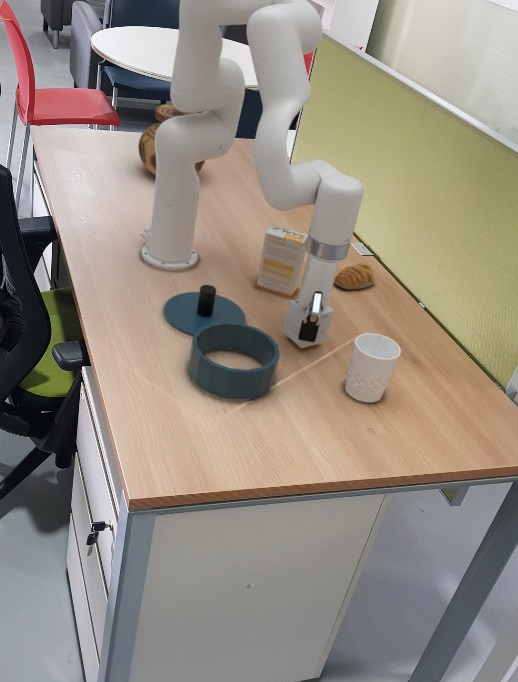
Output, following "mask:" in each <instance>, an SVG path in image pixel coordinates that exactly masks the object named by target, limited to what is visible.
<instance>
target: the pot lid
mask: <svg viewBox="0 0 518 682" xmlns="http://www.w3.org/2000/svg"><path fill="white" fill-rule="evenodd" d="M163 316H164V318H165V320H166V321H167V322H168V324H169V325H170V326H171V327H173V328H174V329H175V330H178V331H179V332H182V333H184V334H186V335H189V336H191V337H193V336H194V335H195V333H196V332H197V331H198V329H200V328H202V327H204V326H206V325H208V324H211V323H219V322H235V323H243V324H245V323H246V316H245V312H244V310H243V309H242V308H241V307H240V306H239V305H238V304H237V303H235V302H234V301H233V300H231V299H230V298H227V297H225V296H222V295H219V294H217V288H216V287H215V286H214V285H211V284H203V285H201V286H200V287H199V291H189V292H188V291H187V292H182V293H179V294H176V295H173V296H171V298H169V299H168V300H167V301H166V302H165V304H164V306H163Z"/></svg>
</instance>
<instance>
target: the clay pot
mask: <svg viewBox="0 0 518 682" xmlns="http://www.w3.org/2000/svg"><path fill="white" fill-rule="evenodd" d="M196 113H199V112H194V113H186V112H181V111H179V110H178V109H176V108H175V107H174V106H173V104H172V103H163V104H161V105H158V106H156V107H155V109H154V117H155V120H157V121H159V122H157V123H153V124H152V125H150V126H148V127H147V128H146V129H145V130H144V131H143V132H142V134H141V136H140V137H139V141H138V154H139V158H140V160H141V162H142V165H143V166H144V167H145V168H146V170H148V171H149V172H150V173H151V174H153V175H154V176H156V152H155V133H156V131H157V129H158V127H159V126H160V125H161V124H162V123H163V122H164V121H166V120H168V119H170V118H173V117H177V116H182V115H188V114H196ZM205 162H206V160H204V161H201V162H197V163H196V164H195V170H196V172H197V174H198V173H199V172H200V171H201V170H202V168H203V167H204V165H205Z"/></svg>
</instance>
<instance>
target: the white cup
mask: <svg viewBox="0 0 518 682" xmlns="http://www.w3.org/2000/svg"><path fill="white" fill-rule="evenodd" d="M401 353H402V350H401V347H400V345H399V344H398V343H397V342H396V341H395V340H393V339H392V338H390V337H388V336H386V335H384V334H380V333H373V332H372V333H371V332H368V333H367V332H366V333H362V334H359V335H358V336H357V337H356V338H355V339H354V344H353V347H352V352H351V356H350V359H349V364H348V369H347V374H346V380H345V383H344V389H345V392H346V393H347V394H348V396H349V397H351V398H353V399H354V400H356V401H358V402H362V403H368V404H369V403H376V402H379V401H380V400H381V399H382V397H383V395H384V393H385V390H386V388H387V386H388V384H389V382H390V380H391V377H392V376H393V373H394V371H395V369H396V367H397V363H398V361H399V359H400V356H401Z"/></svg>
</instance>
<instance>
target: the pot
mask: <svg viewBox="0 0 518 682" xmlns="http://www.w3.org/2000/svg"><path fill="white" fill-rule="evenodd" d="M218 351H225V352H236V353H238V354H243V355H245V356H249V357H251V358H252V359H253V360H255V361H257V362H258V363H260V364H261V365H262V366H261V367H255V368H249V369H244V368H231V367H228V366H225V365H223V364H220V363H215V361H212V360H211V359H210V358H208V357H207V356H205V354H208V353H211V352H212V353H213V352H218ZM280 353H281V352H280V348H279V345H278V343H277V342H276V341H275V340H274V339H273V338H272V336H271V335H270V334H268V333H266V332H265V331H263V330H262V329H259V328H258V327H256V326H252V325H248V324H246V323H244V324H243V323H235V322H219V323H211V324H208V325H206V326H204V327H202V328H200V329H198V331H197V332H196V333H195V335H194V336H192V339H191V344H190V351H189V358H188V375H189V377H190V378H191V379H192V381H193V382H194V384H195V385H196V386H198V387H199V388H201V389H202V390H203V391H205V392H206V393H208V394H211V395H214V396H217V397H220V398H223V399H227V400H241V401H244V400H246V402H250V401H255V400H258V399H260V398H261V397H262V398H263V396H265V395H266V394H268V393H269V392H270V390H271V389H272V386H273V384H274V381H275V377H276V374H277V373H276V372H277V368H278V364H279V360H280V356H281V354H280Z"/></svg>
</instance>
